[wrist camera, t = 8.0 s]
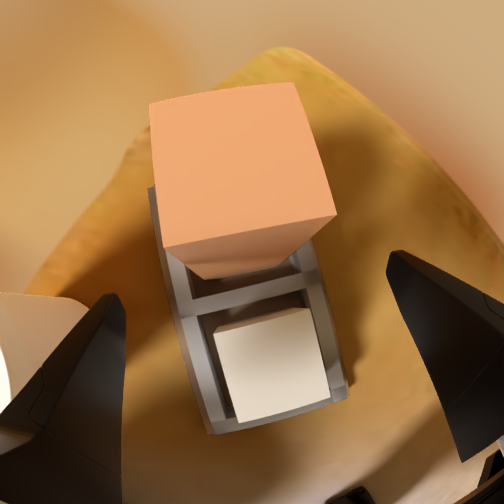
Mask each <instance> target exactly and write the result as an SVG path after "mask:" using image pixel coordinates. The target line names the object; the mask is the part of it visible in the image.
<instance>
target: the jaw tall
mask: <svg viewBox="0 0 504 504" xmlns="http://www.w3.org/2000/svg"><path fill="white" fill-rule="evenodd" d="M149 113H150V131H151V145H152V157H153V168H154V178H155V188H156V197H157V205H158V213H159V221H160V228H161V235H162V242H163V248H164V249H166V250H167V251H168V252H169V253H171V254H172V255H173V256H174V257H176V258H177V259H178V260H179V261H181V262H182V263H183V264H184V265H186V266H187V267H188V268H189V269H191V270H192V271H193V272H195V273H196V274H197V275H198V276H200V277H201V278H202V279H204V280H205V281H210V280H215V279H220V278H226V277H231V276H236V275H241V274H245V273H250V272H255V271H260V270H265V269H270V268H275V267H277V266H278V265H279V264H281V263H282V262H283V261H284V260H285V259H286V258H288V257H289V256H290V255H291V254H292V253H293V252H295V251H296V250H297V249H298V248H299V247H300V246H302V245H303V244H304V243H305V242H306V241H307V240H309V239H310V238H311V237H312V236H313V235H314V234H316V233H317V232H318V231H319V230H320V229H321V228H322V227H324V226H325V225H326V224H327V223H328V222H329V221H330V220H332V219H333V218H334V217H335V216H336V215H337V212H336V208H335V205H334V201H333V198H332V194H331V191H330V187H329V184H328V181H327V178H326V174H325V171H324V168H323V165H322V161H321V158H320V155H319V152H318V149H317V146H316V143H315V140H314V137H313V134H312V131H311V128H310V126H309V123H308V120H307V117H306V114H305V112H304V109H303V106H302V103H301V101H300V98H299V95H298V93H297V90H296V88H295V85H294V83H293V82H287V83H273V84H262V85H252V86H244V87H236V88H228V89H222V90H215V91H209V92H203V93H197V94H192V95H187V96H182V97H177V98H173V99H168V100H163V101H159V102H155V103H151V104H149Z"/></svg>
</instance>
